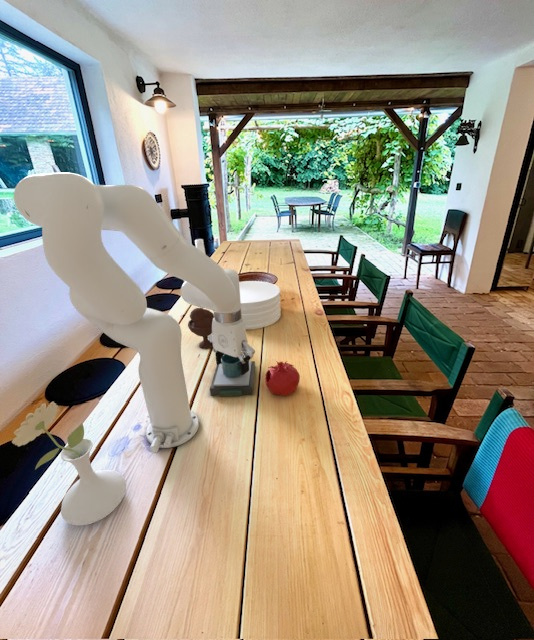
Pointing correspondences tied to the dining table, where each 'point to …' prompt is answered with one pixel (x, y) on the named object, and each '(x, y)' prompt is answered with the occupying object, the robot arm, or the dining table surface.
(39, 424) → the flower in vase
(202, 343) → the ice cream bowl
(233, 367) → the teal cup
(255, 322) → the plate stack
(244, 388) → the scale
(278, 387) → the pomegranate
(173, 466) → the dining table surface
